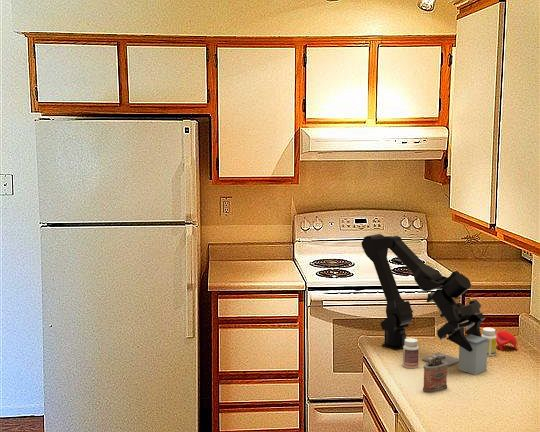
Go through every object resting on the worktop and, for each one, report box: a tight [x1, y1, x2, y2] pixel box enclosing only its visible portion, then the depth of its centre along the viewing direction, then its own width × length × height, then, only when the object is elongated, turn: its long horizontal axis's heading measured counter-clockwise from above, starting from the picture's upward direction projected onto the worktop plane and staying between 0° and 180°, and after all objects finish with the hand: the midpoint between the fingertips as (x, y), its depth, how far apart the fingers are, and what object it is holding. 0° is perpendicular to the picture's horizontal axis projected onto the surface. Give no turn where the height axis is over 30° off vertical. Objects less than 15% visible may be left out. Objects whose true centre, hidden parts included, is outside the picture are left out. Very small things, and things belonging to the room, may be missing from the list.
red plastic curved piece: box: [495, 330, 518, 351], centre depth 235 cm, size 8×6×6 cm
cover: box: [457, 334, 488, 376], centre depth 215 cm, size 6×6×10 cm
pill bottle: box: [402, 337, 420, 369], centre depth 219 cm, size 5×5×8 cm
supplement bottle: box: [481, 327, 497, 357], centre depth 230 cm, size 5×5×8 cm
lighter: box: [422, 353, 448, 394], centre depth 201 cm, size 8×3×10 cm, turn 117°
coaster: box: [421, 352, 459, 368], centre depth 224 cm, size 9×9×1 cm
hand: (477, 348), depth 214 cm, fingers closed on cover, 6 cm apart
